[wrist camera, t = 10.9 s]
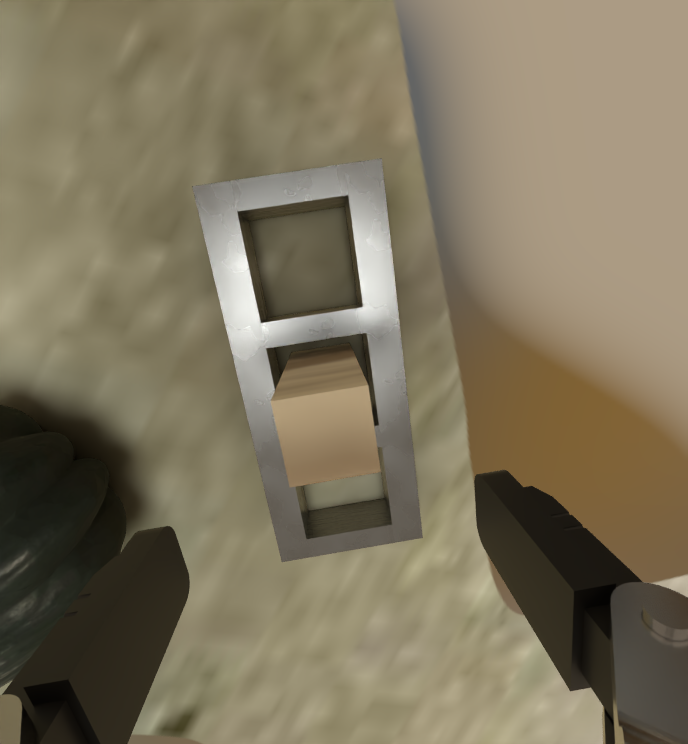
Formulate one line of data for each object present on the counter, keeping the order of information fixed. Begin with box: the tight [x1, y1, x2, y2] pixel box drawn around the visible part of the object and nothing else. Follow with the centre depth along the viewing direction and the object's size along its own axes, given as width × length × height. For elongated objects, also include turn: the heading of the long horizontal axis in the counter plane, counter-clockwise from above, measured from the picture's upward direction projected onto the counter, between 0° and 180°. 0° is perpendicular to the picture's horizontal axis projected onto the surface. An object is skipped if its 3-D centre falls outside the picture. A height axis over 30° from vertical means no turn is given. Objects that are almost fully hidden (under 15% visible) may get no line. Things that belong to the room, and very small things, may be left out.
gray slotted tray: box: [192, 158, 423, 562], centre depth 23 cm, size 24×10×3 cm, turn 8°
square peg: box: [271, 343, 381, 487], centre depth 19 cm, size 4×4×10 cm
